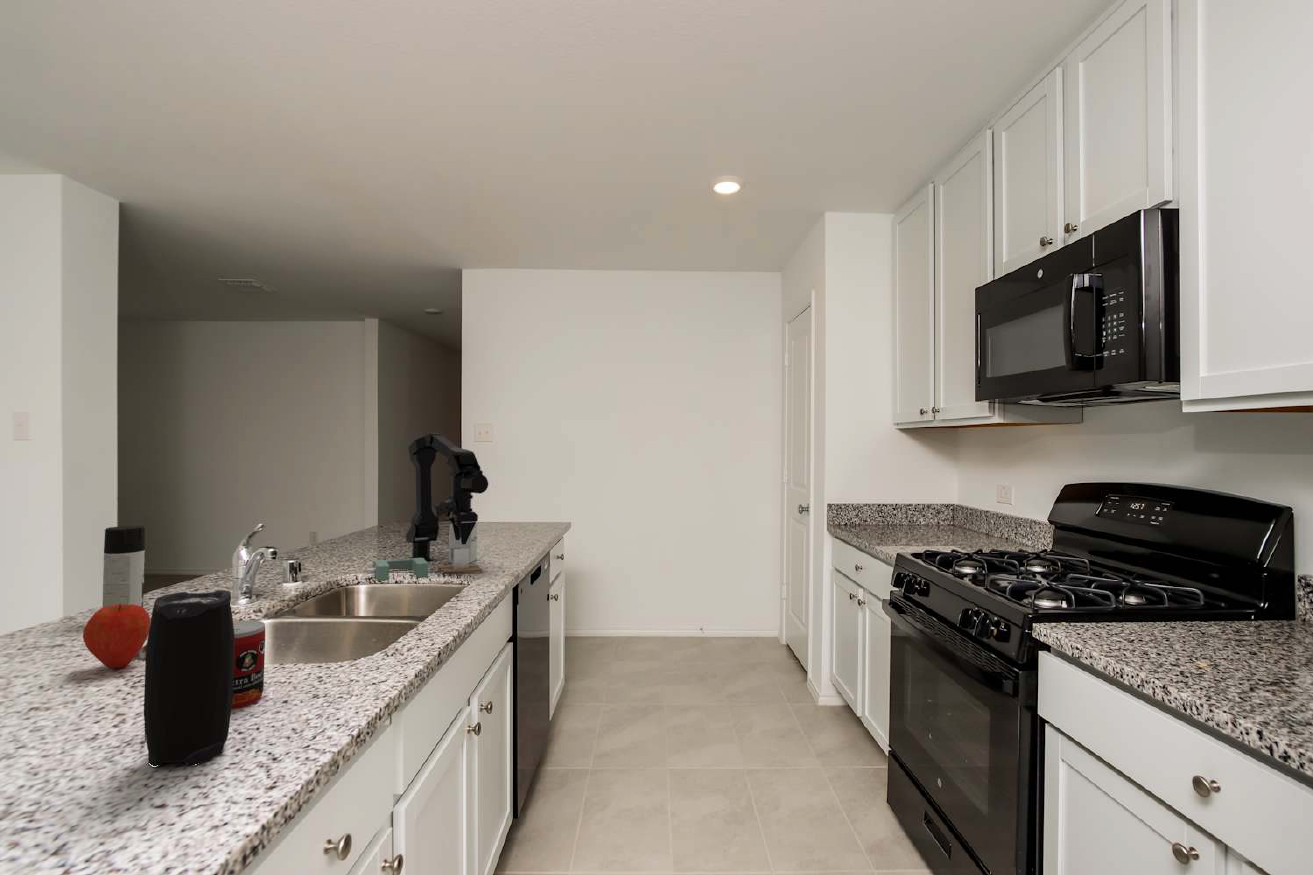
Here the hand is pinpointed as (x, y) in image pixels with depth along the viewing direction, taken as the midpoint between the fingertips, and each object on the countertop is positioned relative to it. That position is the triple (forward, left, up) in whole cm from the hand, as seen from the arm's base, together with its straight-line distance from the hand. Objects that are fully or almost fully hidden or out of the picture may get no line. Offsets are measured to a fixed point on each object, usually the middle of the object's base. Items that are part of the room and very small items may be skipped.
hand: (460, 542), depth 193 cm
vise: (-2, -18, -9) cm, 20 cm away
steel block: (0, 0, -8) cm, 8 cm away
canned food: (+86, -50, -9) cm, 100 cm away
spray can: (+28, -75, -9) cm, 81 cm away
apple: (+62, -69, -9) cm, 93 cm away
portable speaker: (+103, -53, -9) cm, 116 cm away
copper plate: (0, 0, -9) cm, 9 cm away
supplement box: (-15, +4, -9) cm, 18 cm away
